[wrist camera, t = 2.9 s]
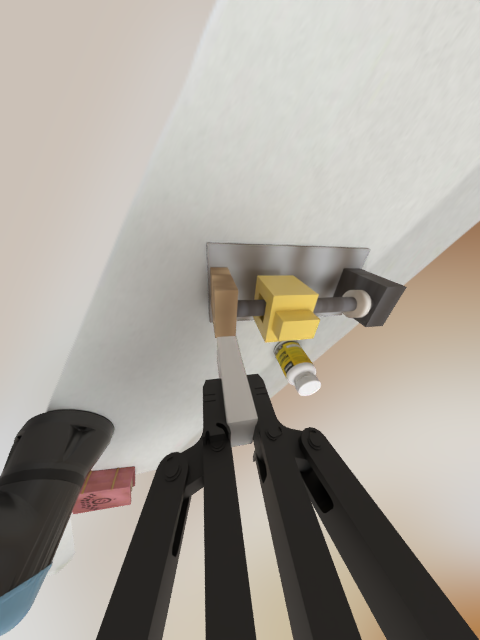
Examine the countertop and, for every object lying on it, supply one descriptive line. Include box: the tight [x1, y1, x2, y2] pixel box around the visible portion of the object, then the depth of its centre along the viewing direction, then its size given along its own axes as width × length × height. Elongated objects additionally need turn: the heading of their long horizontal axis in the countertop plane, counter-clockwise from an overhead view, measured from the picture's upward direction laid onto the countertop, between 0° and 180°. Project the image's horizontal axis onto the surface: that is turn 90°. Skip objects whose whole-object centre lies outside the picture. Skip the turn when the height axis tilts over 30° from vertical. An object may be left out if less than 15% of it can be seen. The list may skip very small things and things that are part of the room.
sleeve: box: [253, 275, 320, 342], centre depth 21 cm, size 5×6×8 cm
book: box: [72, 467, 135, 514], centre depth 51 cm, size 14×15×5 cm
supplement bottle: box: [274, 340, 321, 396], centre depth 32 cm, size 5×5×10 cm
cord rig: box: [207, 243, 406, 338], centre depth 25 cm, size 25×12×9 cm, turn 87°
